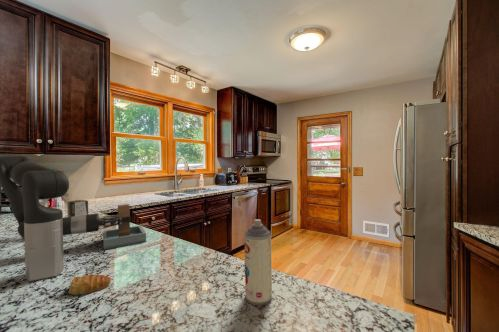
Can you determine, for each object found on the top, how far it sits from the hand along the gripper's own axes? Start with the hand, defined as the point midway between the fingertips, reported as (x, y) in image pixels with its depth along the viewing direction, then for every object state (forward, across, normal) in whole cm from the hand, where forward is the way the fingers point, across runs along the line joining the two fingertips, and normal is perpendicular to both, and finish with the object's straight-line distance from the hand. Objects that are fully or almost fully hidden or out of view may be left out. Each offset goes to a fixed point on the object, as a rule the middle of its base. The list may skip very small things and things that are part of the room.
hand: (130, 218), depth 105 cm
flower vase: (-35, +31, +10) cm, 48 cm away
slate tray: (-3, 0, +10) cm, 10 cm away
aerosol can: (+22, -71, +10) cm, 75 cm away
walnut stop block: (-3, 0, +8) cm, 8 cm away
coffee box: (-22, +33, +10) cm, 41 cm away
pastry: (-15, -40, +11) cm, 44 cm away
